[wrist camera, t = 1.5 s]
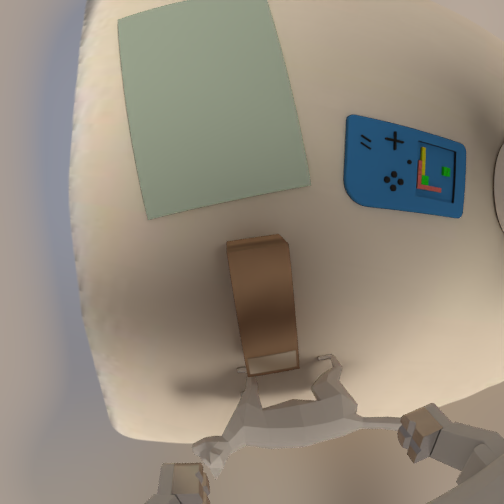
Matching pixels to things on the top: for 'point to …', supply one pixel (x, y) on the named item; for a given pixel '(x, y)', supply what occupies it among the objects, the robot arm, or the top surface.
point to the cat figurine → (289, 420)
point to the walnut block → (264, 303)
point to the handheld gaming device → (403, 168)
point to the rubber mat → (209, 105)
